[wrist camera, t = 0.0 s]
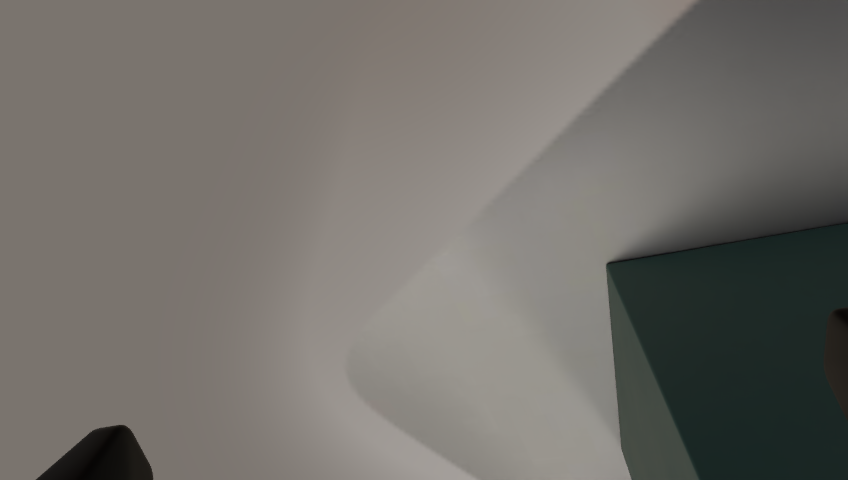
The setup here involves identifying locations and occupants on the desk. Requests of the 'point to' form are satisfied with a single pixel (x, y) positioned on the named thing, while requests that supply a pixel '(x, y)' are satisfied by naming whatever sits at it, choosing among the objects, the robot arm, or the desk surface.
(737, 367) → the toaster
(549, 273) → the desk surface
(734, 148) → the desk surface
